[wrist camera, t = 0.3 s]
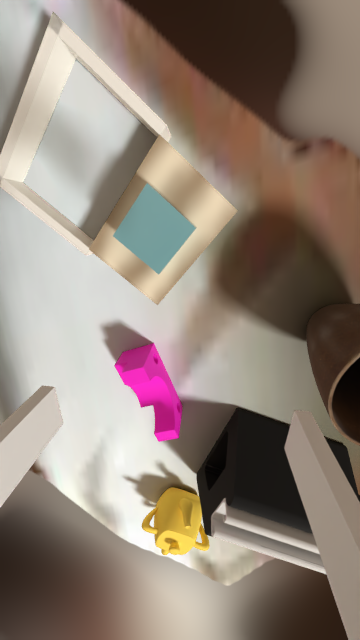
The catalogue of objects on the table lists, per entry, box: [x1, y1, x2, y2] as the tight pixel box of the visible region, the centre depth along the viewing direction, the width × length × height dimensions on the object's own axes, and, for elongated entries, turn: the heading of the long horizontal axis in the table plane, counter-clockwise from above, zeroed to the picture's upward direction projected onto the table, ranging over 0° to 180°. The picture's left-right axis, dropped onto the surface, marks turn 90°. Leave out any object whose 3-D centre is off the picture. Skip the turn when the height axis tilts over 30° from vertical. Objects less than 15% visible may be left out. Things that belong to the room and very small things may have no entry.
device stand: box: [197, 408, 358, 574], centre depth 42 cm, size 22×22×15 cm
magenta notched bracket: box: [114, 343, 183, 442], centre depth 40 cm, size 15×6×8 cm, turn 20°
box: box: [0, 12, 171, 256], centre depth 29 cm, size 15×18×4 cm
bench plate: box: [89, 134, 237, 305], centre depth 31 cm, size 12×16×4 cm
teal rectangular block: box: [113, 183, 197, 274], centre depth 27 cm, size 7×7×3 cm
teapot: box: [142, 487, 209, 555], centre depth 52 cm, size 14×13×10 cm
